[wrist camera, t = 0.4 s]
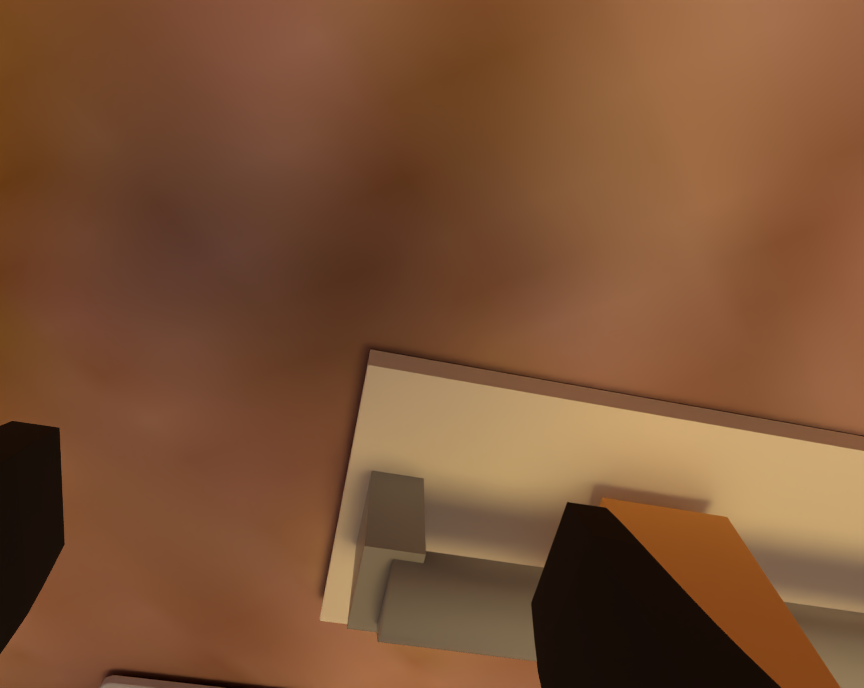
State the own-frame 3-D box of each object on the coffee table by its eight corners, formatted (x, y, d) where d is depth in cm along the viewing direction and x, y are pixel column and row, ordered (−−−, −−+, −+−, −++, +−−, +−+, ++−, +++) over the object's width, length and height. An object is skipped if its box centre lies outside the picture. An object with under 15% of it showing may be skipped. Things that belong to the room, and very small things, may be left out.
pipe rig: (1156, 488, 22) (1377, 620, 17) (989, 684, 26) (1127, 837, 21) (370, 349, 19) (355, 460, 14) (323, 597, 23) (298, 752, 18)
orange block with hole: (727, 516, 19) (879, 746, 13) (670, 628, 21) (778, 874, 15) (602, 497, 19) (697, 725, 13) (555, 612, 21) (617, 860, 15)
